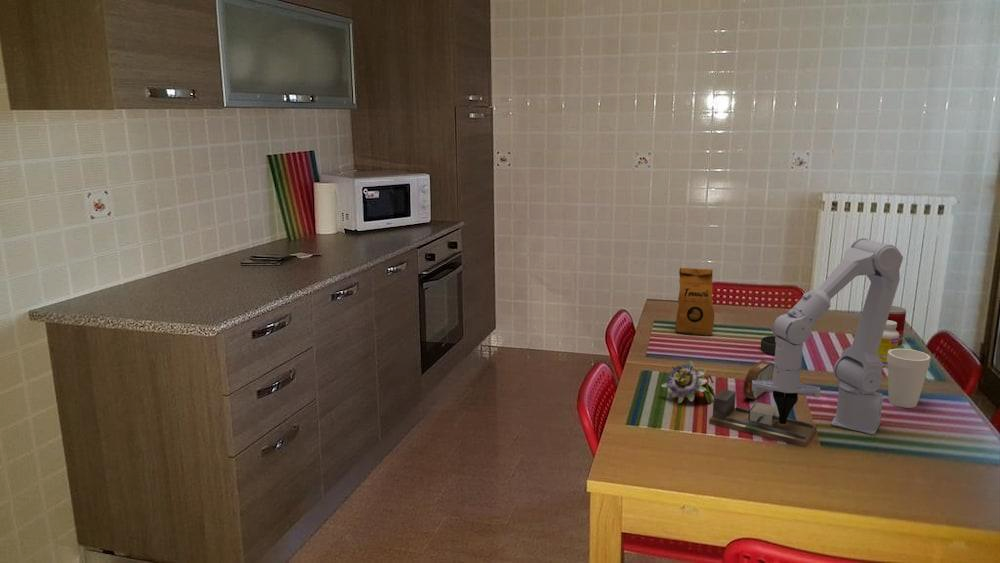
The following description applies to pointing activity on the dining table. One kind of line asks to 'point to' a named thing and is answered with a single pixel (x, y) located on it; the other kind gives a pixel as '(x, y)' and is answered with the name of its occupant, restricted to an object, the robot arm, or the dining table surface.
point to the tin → (757, 378)
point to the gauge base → (739, 421)
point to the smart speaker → (768, 345)
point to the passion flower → (688, 383)
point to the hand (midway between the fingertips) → (782, 422)
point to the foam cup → (906, 376)
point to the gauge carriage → (764, 414)
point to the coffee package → (695, 302)
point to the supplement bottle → (888, 341)
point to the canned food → (898, 320)
